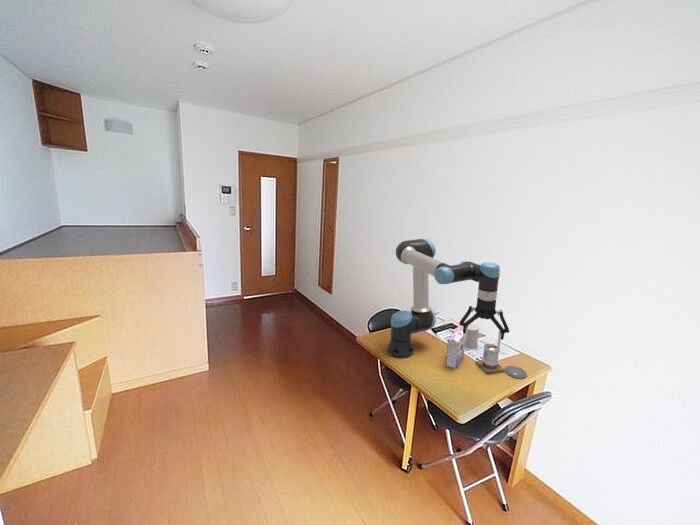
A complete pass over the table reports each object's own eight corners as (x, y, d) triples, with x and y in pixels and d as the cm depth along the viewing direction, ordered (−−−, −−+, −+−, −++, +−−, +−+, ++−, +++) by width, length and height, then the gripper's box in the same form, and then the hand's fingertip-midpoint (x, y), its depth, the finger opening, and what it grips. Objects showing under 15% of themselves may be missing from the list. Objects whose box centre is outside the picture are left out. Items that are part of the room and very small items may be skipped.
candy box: (453, 354, 175) (455, 328, 171) (463, 357, 171) (466, 331, 167) (445, 366, 164) (447, 338, 160) (456, 369, 161) (458, 341, 156)
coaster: (500, 368, 161) (500, 367, 161) (516, 366, 163) (517, 364, 163) (513, 380, 152) (513, 378, 152) (531, 377, 154) (531, 376, 153)
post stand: (475, 363, 166) (477, 346, 163) (491, 361, 168) (493, 344, 165) (486, 374, 156) (489, 356, 154) (504, 371, 158) (506, 353, 156)
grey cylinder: (479, 358, 164) (481, 343, 162) (491, 357, 165) (493, 341, 163) (488, 366, 157) (490, 350, 155) (501, 364, 158) (503, 349, 156)
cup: (470, 340, 189) (472, 323, 186) (479, 347, 182) (481, 328, 179) (459, 343, 187) (461, 325, 184) (468, 349, 180) (470, 331, 176)
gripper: (455, 297, 134) (452, 341, 139) (520, 305, 124) (513, 352, 130) (457, 291, 140) (453, 333, 146) (518, 299, 131) (512, 343, 136)
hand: (481, 342), depth 138 cm, fingers open, 13 cm apart
